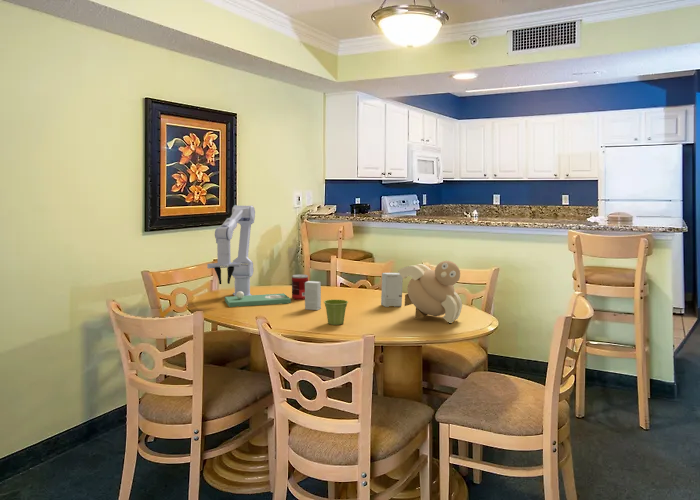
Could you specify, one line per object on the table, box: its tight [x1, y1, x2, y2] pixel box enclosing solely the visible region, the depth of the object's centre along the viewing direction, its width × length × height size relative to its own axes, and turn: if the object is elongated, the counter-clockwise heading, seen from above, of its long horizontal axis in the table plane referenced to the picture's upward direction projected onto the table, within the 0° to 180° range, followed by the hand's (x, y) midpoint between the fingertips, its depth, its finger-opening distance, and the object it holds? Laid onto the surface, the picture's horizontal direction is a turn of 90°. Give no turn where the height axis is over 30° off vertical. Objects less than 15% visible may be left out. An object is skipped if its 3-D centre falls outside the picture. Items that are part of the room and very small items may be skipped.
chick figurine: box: [397, 260, 463, 324], centre depth 224 cm, size 30×28×23 cm
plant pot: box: [323, 299, 349, 326], centre depth 216 cm, size 9×9×9 cm
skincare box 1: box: [304, 280, 322, 311], centre depth 241 cm, size 6×4×12 cm
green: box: [224, 292, 292, 308], centre depth 255 cm, size 14×28×2 cm, turn 110°
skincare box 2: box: [380, 272, 404, 308], centre depth 250 cm, size 8×6×15 cm
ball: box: [236, 291, 244, 299], centre depth 252 cm, size 4×4×4 cm
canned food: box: [291, 273, 309, 301], centre depth 265 cm, size 8×8×11 cm
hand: (224, 283), depth 249 cm, fingers open, 3 cm apart
